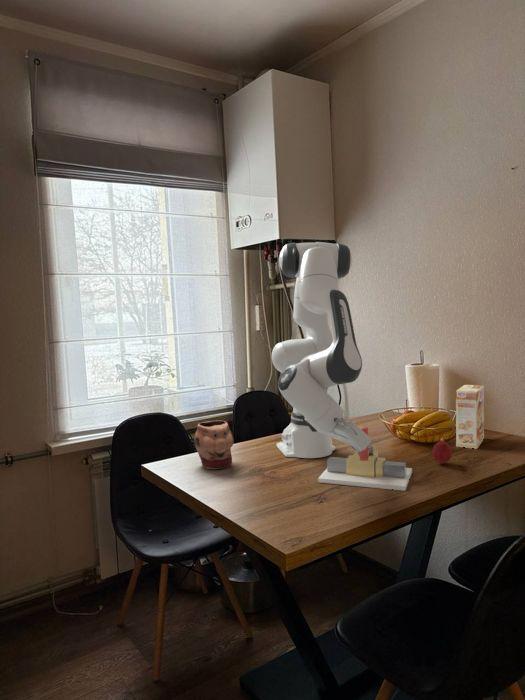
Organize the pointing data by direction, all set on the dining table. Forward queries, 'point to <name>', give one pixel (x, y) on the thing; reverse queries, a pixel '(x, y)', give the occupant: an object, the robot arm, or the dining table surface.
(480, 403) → the coffeecake box
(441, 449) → the onion
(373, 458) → the valve and pipe
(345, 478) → the mounting board
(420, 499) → the dining table surface
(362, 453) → the lever
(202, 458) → the decorative planter
